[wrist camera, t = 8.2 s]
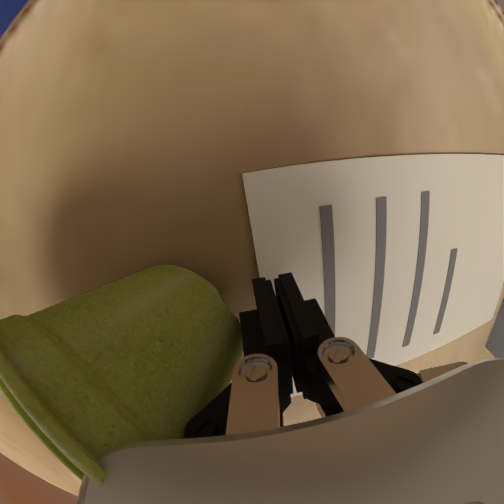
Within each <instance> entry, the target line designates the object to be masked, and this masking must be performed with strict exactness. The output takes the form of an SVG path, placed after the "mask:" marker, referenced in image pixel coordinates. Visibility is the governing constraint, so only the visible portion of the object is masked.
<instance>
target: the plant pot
mask: <svg viewBox="0 0 504 504" xmlns="http://www.w3.org/2000/svg"><path fill="white" fill-rule="evenodd" d="M242 351H243V341H242V333H241V326H240V323H239V321H238V318H237V317H236V316H235V315H233V314H232V313H231V312H230V310H229V309H228V307H227V306H226V305H225V303H224V302H223V300H222V298H221V296H220V295H219V293H218V291H217V289H216V288H215V287H214V286H213V285H212V284H211V283H210V282H208V281H207V280H206V279H204V278H203V277H201V276H200V275H198V274H197V273H195V272H193V271H191V270H188V269H186V268H183V267H180V266H176V265H170V264H161V265H155V266H152V267H149V268H147V269H144V270H142V271H139V272H137V273H134V274H132V275H129V276H127V277H124V278H122V279H119V280H117V281H114V282H112V283H109V284H106V285H104V286H101V287H99V288H96V289H94V290H91V291H88V292H86V293H83V294H81V295H78V296H76V297H73V298H71V299H68V300H66V301H63V302H61V303H58V304H56V305H53V306H51V307H48V308H46V309H43V310H41V311H38V312H36V313H34V314H31V315H28V316H21V315H12V316H9V317H7V318H4V319H1V320H0V389H1V391H2V392H3V393H4V395H5V396H6V397H7V399H8V400H9V402H10V403H11V405H12V406H13V408H14V409H15V410H16V412H17V413H18V414H19V416H20V417H21V418H22V419H23V420H24V422H25V423H26V424H27V425H28V426H29V428H30V429H31V430H32V431H33V432H34V434H35V435H36V436H37V437H38V438H39V439H40V440H41V441H42V442H43V444H44V445H45V446H46V447H47V448H48V449H49V450H50V451H51V452H52V453H53V454H54V455H55V456H56V457H57V458H58V459H59V460H60V461H61V462H62V463H63V464H64V465H65V466H66V467H67V468H69V469H70V470H71V471H72V472H73V473H74V474H75V475H76V476H77V477H79V478H80V479H81V480H82V479H83V476H84V474H85V475H86V476H88V477H89V478H90V479H91V480H92V481H93V482H95V483H96V484H97V485H98V486H102V484H103V482H104V480H105V478H106V471H105V470H104V469H103V468H102V467H101V466H100V465H99V464H98V462H97V460H98V459H99V457H100V456H102V455H103V454H104V453H105V452H107V451H108V450H110V449H112V448H115V447H118V446H121V445H124V444H128V443H134V442H141V441H150V440H167V439H185V436H184V429H185V427H186V425H187V423H188V422H189V421H190V420H191V419H192V418H193V417H194V416H195V415H196V414H197V413H199V412H200V411H201V410H202V409H203V408H204V407H205V406H207V405H208V404H209V403H210V402H211V401H212V400H213V399H214V398H215V397H216V396H218V395H219V394H220V393H221V392H222V391H223V390H224V389H225V388H226V387H227V386H228V385H229V384H230V382H231V379H232V377H233V370H234V367H235V365H236V363H237V362H238V361H239V360H240V358H241V355H242Z"/></svg>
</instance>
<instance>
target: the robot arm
mask: <svg viewBox="0 0 504 504" xmlns="http://www.w3.org/2000/svg"><path fill="white" fill-rule="evenodd" d="M252 282H253V288H254V294H255V300H256V306H257V310H251V311H245V312H239V315H240V324H241V333H242V341H243V350H244V357H243V358H242V359H240V360H239V361H238V362H237V363H236V365H235V367H234V370H233V378H232V383H230V384H229V385H228V386H227V387H226V388H225V389H224V390H223V391H222V392H221V393H220V394H219V395H218V396H216V397H215V398H214V399H213V400H212V401H211V402H210V403H209V404H208V405H207V406H205V407H204V408H203V409H202V410H201V411H200V412H199V413H197V414H196V415H195V416H194V417H193V418H192V419H191V420H190V421H189V422H188V423H187V425H186V427H185V429H184V436H185V439H167V440H150V441H141V442H134V443H128V444H124V445H121V446H118V447H115V448H112V449H110V450H108V451H107V452H105V453H104V454H103V455H102V456H100V457H99V459H98V460H97V462H98V464H99V465H100V466H101V467H102V468H103V469H104V470H105V471H106V478H105V480H104V482H103V484H102V486H98V485H97V484H96V483H95V482H93V481H92V480H91V479H90V478H89V477H88V476H86V475H85V474H84V476H83V479H82V482H81V486H80V490H79V495H78V500H77V504H504V358H489V359H482V360H478V361H474V362H471V363H466V362H457V363H452V364H448V365H444V366H439V367H434V368H430V369H424V370H420V371H419V373H417V374H416V373H414V372H412V371H410V370H406V369H403V368H399V367H396V366H393V365H389V364H386V363H383V362H380V361H376V360H373V359H370V358H368V357H367V356H366V355H365V354H364V352H363V351H362V350H361V349H360V347H359V346H358V345H357V344H356V343H355V342H354V341H353V340H351V339H348V338H345V337H335V336H334V334H333V332H332V330H331V328H330V326H329V324H328V322H327V320H326V318H325V316H324V314H323V312H322V310H321V308H320V306H319V304H318V302H317V300H316V299H315V298H314V299H309V300H304V299H303V297H302V294H301V292H300V290H299V288H298V286H297V283H296V281H295V279H294V277H293V275H292V273H291V272H289V273H284V274H278V278H275V279H274V285H275V292H274V289H273V286H272V282H271V280H266V279H265V277H262V278H256V279H252ZM275 293H276V295H275ZM292 377H293V379H292ZM293 380H294V384H295V388H296V391H297V393H299V392H302V394H303V397H304V399H306V398H307V399H309V400H311V401H313V402H315V403H316V406H317V409H318V411H319V413H320V415H321V417H322V418H319V419H315V420H311V421H307V422H303V423H298V424H293V425H289V426H284V419H283V412H284V411H285V409H286V408H287V407H288V406H289V405H290V403H291V396H290V394H293Z"/></svg>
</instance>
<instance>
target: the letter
mask: <svg viewBox="0 0 504 504" xmlns="http://www.w3.org/2000/svg"><path fill="white" fill-rule="evenodd" d="M242 177H243V183H244V189H245V195H246V201H247V206H248V212H249V218H250V224H251V230H252V236H253V242H254V248H255V254H256V260H257V266H258V272H259V278H262V277H265V279H266V280H271V282H272V286H273V289H274V292H275V285H274V279H275V278H278V274H284V273H289V272H291V273H292V275H293V277H294V279H295V281H296V283H297V286H298V288H299V290H300V292H301V294H302V297H303V299H304V300H309V299H314V298H315V299H316V300H317V302H318V304H319V306H320V308H321V310H322V312H323V314H324V316H325V318H326V320H327V322H328V324H329V326H330V328H331V330H332V332H333V334H334V336H335V337H345V338H348V339H351V340H353V341H354V342H355V343H356V344H357V345H358V346H359V347H360V349H361V350H362V351H363V352H364V354H365V355H366V356H367V357H368V358H370V359H373V360H376V361H380V362H383V363H386V364H389V365H393V366H396V365H399V364H401V363H404V362H406V361H409V360H411V359H414V358H416V357H418V356H421V355H423V354H425V353H427V352H430V351H432V350H434V349H436V348H438V347H440V346H443V345H445V344H447V343H449V342H451V341H453V340H455V339H457V338H459V337H461V336H463V335H464V334H466V333H468V332H470V331H472V330H474V329H476V328H477V327H479V326H481V325H483V324H484V323H486V322H488V321H490V320H491V319H492V317H493V314H494V311H495V308H496V305H497V302H498V299H499V296H500V293H501V289H502V286H503V282H504V155H495V154H412V155H392V156H377V157H364V158H352V159H342V160H332V161H323V162H315V163H307V164H299V165H292V166H285V167H278V168H271V169H265V170H259V171H253V172H247V173H242ZM275 295H276V293H275ZM292 379H293V377H292ZM299 395H303V394H302V392H299V393H297V391H296V388H295V384H294V380H293V394H290V396H291V397H295V396H299Z"/></svg>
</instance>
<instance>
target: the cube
mask: <svg viewBox="0 0 504 504" xmlns="http://www.w3.org/2000/svg"><path fill="white" fill-rule="evenodd" d="M485 347H486V348H487V349H488V350H489V351H490V352H491V353H492V354H493V355H494V356H495V358H504V300H503V301H502V304H501V307H500V310H499V312H498V315H497V318H496V321H495V323H494V326H493V329H492V331H491V334H490V336H489V339H488V341H487V343H486V346H485Z"/></svg>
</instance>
